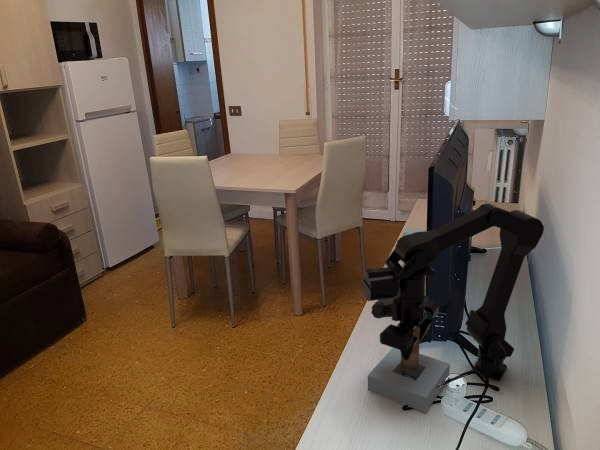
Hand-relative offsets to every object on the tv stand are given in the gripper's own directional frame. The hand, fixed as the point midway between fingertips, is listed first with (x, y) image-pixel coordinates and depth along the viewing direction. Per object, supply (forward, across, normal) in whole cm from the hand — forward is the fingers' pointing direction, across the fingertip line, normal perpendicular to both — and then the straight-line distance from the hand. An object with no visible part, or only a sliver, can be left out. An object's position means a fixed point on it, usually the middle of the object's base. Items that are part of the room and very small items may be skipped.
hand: (409, 354), depth 106 cm
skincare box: (+8, -57, -23) cm, 62 cm away
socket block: (+8, 0, 0) cm, 8 cm away
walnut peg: (+3, 0, 0) cm, 3 cm away
